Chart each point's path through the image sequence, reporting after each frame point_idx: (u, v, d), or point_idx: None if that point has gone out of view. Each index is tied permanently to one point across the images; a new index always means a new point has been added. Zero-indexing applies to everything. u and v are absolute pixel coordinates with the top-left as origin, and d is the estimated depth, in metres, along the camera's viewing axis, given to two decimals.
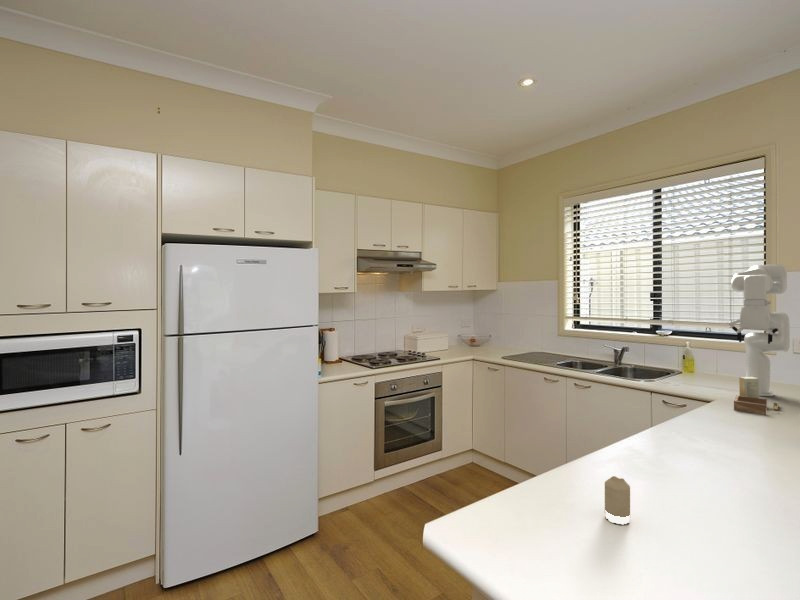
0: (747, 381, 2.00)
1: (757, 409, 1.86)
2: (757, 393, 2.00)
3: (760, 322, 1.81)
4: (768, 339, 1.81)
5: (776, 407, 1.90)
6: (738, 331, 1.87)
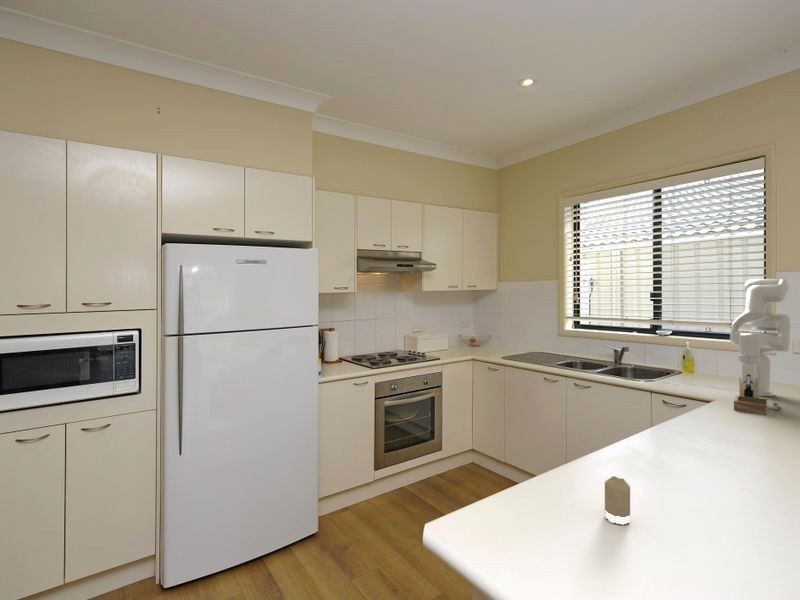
0: None
1: (757, 409, 1.86)
2: (757, 393, 2.00)
3: None
4: None
5: (776, 407, 1.90)
6: None
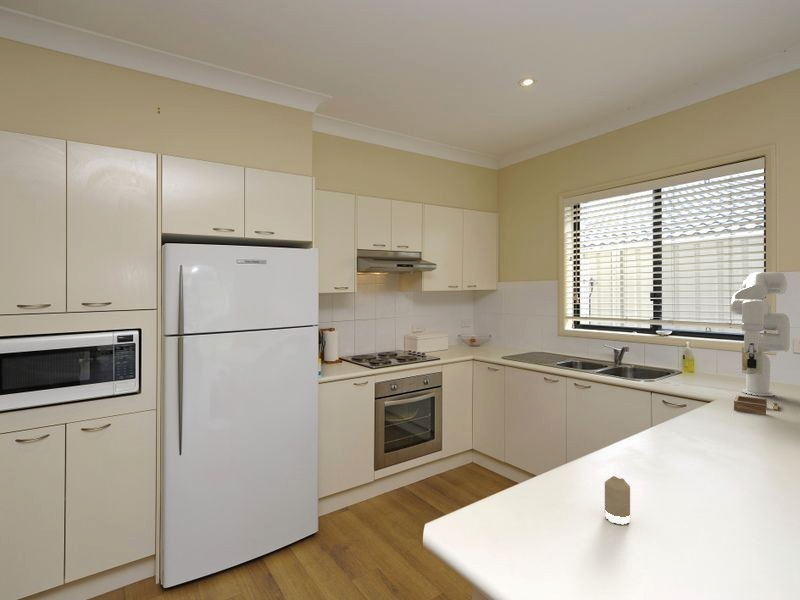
0: None
1: (757, 409, 1.86)
2: (761, 363, 1.89)
3: None
4: None
5: (776, 407, 1.90)
6: None
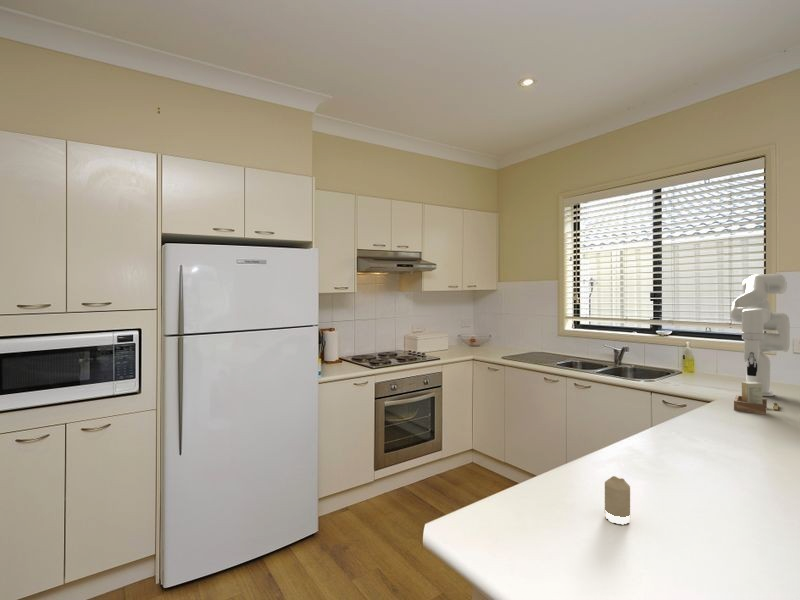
0: (750, 386, 1.90)
1: (757, 409, 1.86)
2: (760, 399, 1.90)
3: None
4: (756, 368, 1.95)
5: (776, 407, 1.90)
6: None
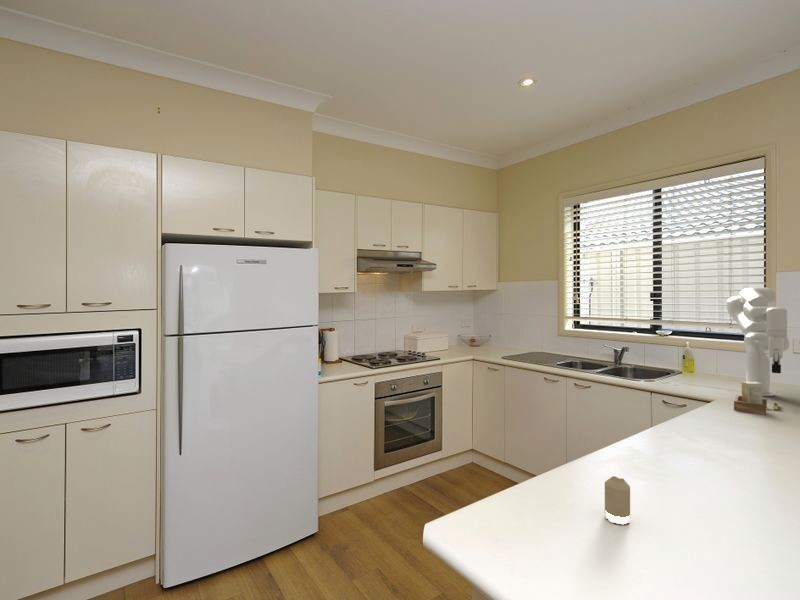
0: (750, 386, 1.90)
1: (757, 409, 1.86)
2: (760, 399, 1.90)
3: None
4: None
5: (776, 407, 1.90)
6: (779, 363, 1.97)
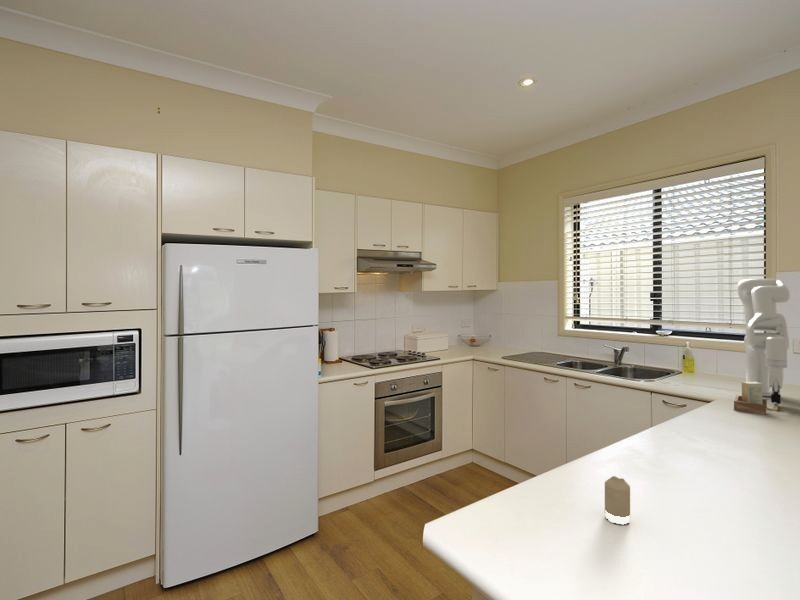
0: (750, 386, 1.90)
1: (757, 409, 1.86)
2: (760, 399, 1.90)
3: None
4: None
5: (776, 408, 1.89)
6: (779, 393, 1.95)
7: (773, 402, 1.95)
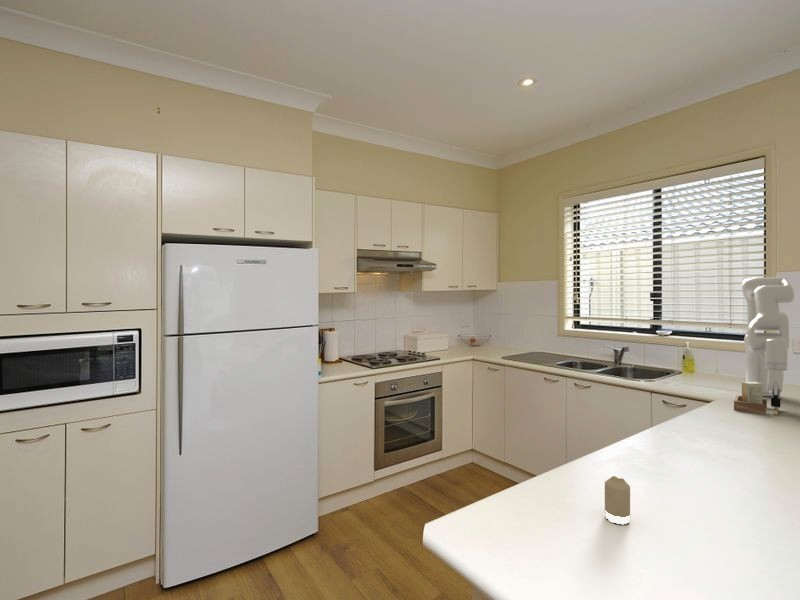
0: (750, 386, 1.90)
1: (757, 409, 1.86)
2: (760, 399, 1.90)
3: None
4: None
5: (776, 412, 1.83)
6: (779, 397, 1.89)
7: (773, 406, 1.89)
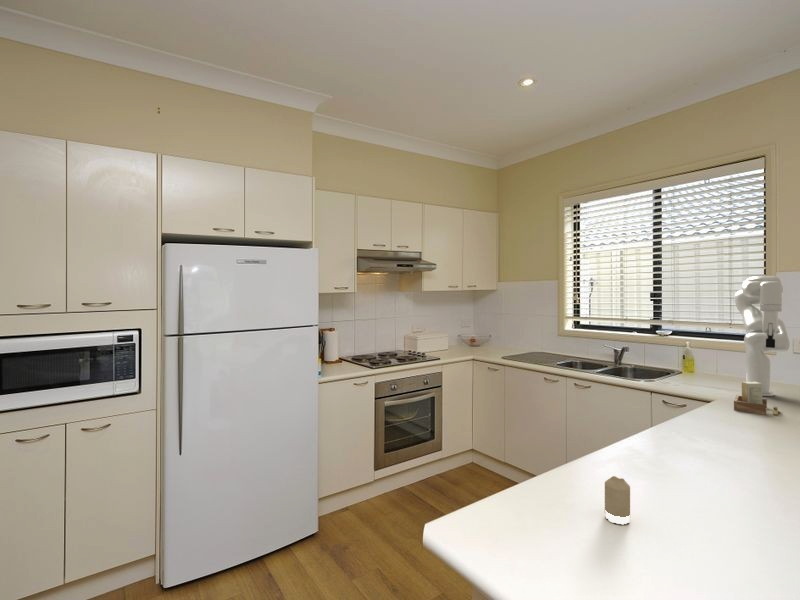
0: (750, 386, 1.90)
1: (757, 409, 1.86)
2: (760, 399, 1.90)
3: None
4: (774, 343, 1.96)
5: (776, 412, 1.83)
6: (774, 337, 1.95)
7: (773, 406, 1.89)
